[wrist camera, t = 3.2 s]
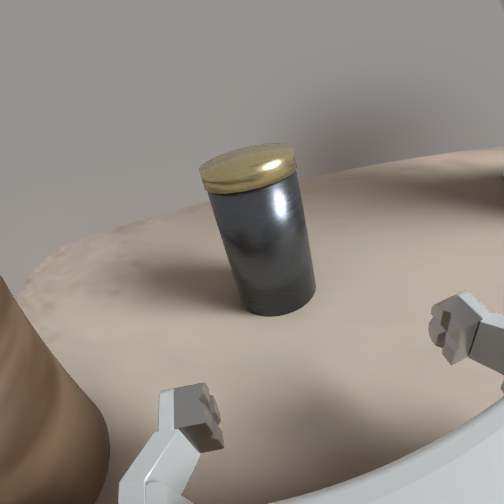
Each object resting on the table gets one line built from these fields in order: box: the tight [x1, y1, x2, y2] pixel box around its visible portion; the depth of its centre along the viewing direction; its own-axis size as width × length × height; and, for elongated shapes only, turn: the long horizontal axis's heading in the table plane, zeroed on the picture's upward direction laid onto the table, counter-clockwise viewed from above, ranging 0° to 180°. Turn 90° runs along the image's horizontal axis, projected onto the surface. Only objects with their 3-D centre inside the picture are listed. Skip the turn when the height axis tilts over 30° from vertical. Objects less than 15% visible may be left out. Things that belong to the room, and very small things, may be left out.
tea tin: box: [199, 143, 316, 316], centre depth 21 cm, size 6×6×10 cm
